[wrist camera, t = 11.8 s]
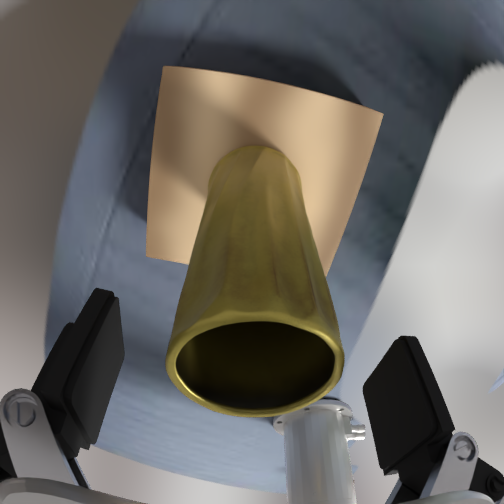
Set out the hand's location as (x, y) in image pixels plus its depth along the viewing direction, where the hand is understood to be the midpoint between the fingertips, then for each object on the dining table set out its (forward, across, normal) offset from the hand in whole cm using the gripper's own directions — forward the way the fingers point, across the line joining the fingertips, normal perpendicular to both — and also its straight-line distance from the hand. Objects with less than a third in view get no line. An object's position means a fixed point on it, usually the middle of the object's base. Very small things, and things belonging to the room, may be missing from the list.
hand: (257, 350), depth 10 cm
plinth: (+17, 0, -1) cm, 17 cm away
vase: (+13, 0, -1) cm, 13 cm away
